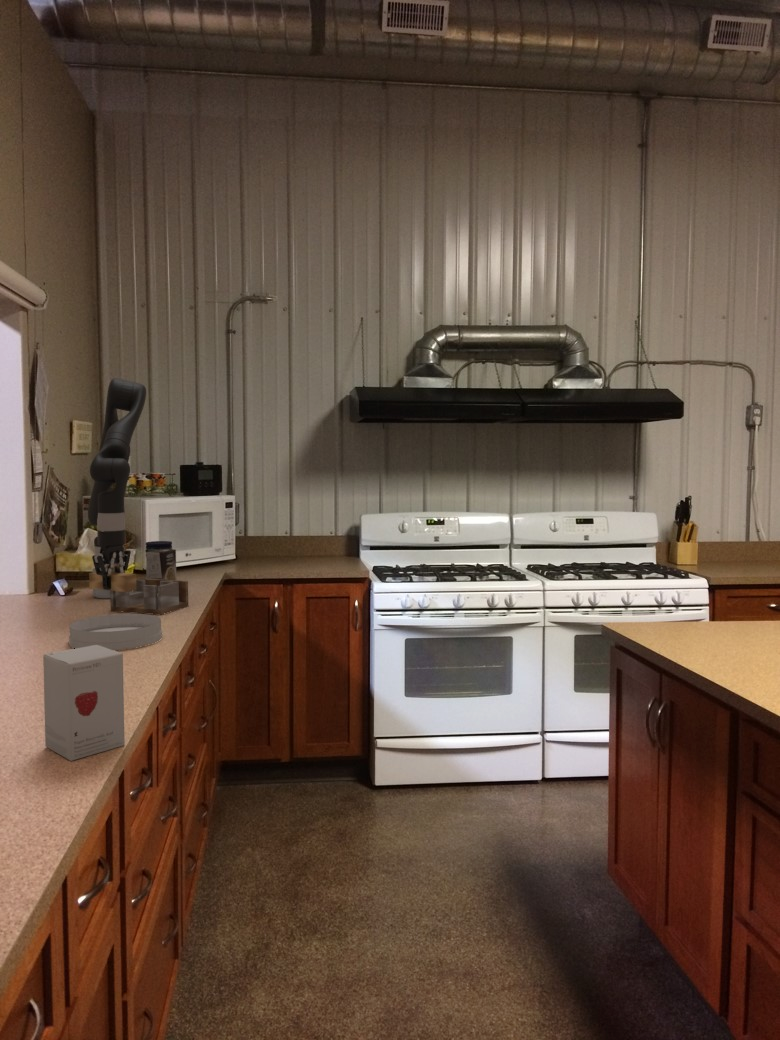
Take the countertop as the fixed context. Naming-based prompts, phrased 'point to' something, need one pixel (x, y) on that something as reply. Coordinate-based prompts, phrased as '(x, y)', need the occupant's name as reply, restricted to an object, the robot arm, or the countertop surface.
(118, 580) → the rail
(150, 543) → the storage jar
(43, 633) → the countertop surface
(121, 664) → the supplement box
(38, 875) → the countertop surface
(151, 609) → the bracket board
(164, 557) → the coffee box
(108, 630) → the dish
